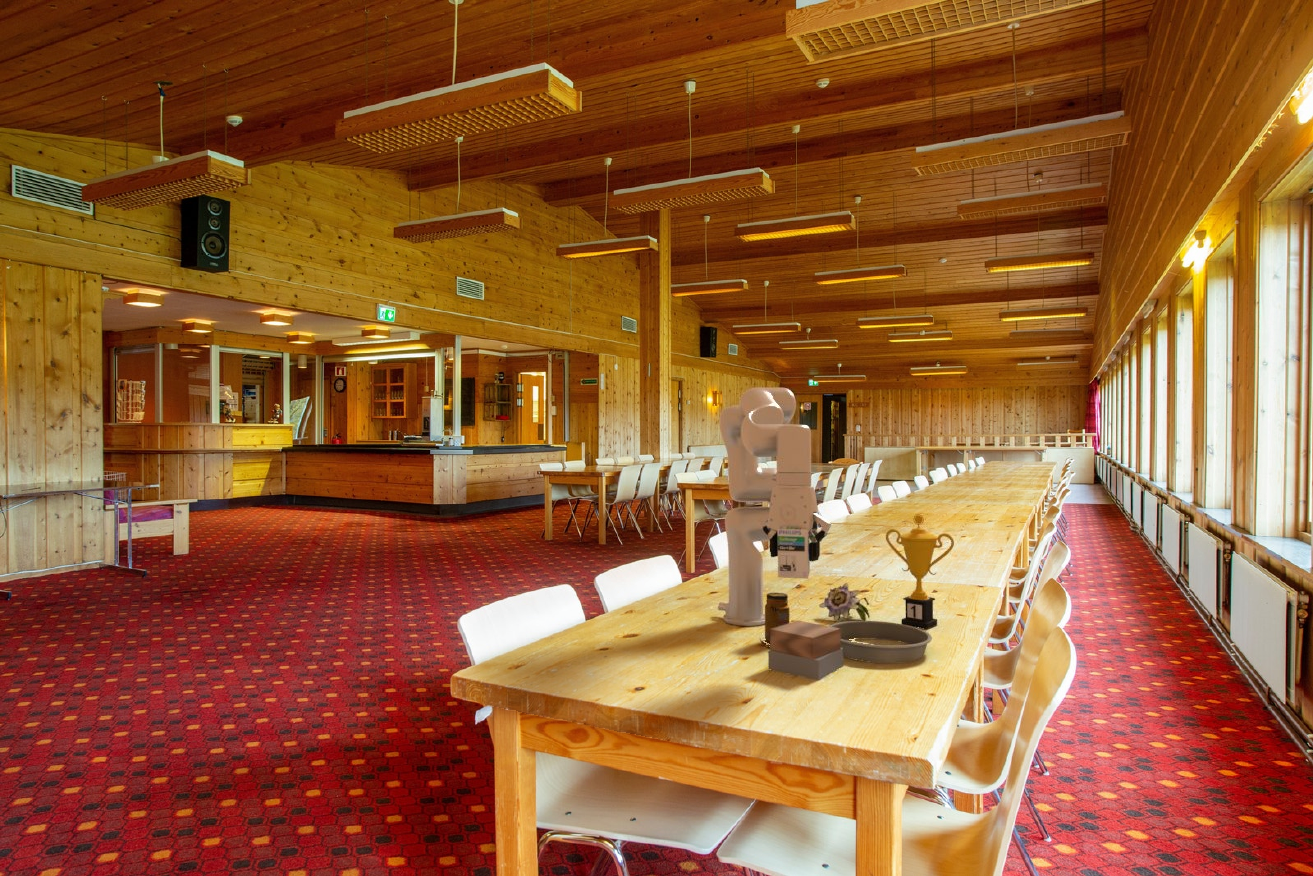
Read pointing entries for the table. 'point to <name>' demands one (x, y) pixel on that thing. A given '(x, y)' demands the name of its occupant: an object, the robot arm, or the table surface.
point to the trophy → (919, 571)
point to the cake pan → (887, 632)
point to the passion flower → (844, 603)
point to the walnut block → (805, 639)
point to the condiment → (775, 613)
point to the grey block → (805, 664)
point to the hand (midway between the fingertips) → (794, 558)
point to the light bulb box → (793, 553)
